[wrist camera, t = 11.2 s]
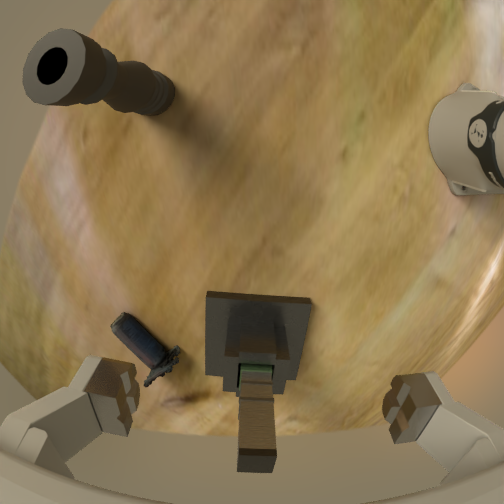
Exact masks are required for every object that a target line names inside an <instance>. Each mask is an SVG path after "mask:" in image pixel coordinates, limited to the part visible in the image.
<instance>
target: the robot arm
mask: <svg viewBox="0 0 504 504" xmlns="http://www.w3.org/2000/svg"><path fill="white" fill-rule="evenodd" d="M429 144H430V149H431V152H432V155H433V158H434V160H435V162H436V164H437V165H438V167H439V168H440V170H441V171H442V172H443V173H444V175H445V176H446V178H447V181H448V184H449V187H450V190H451V192H452V193H453V194H455V195H479V194H504V97H502V96H498V95H497V93H496V92H493V91H481V90H479V89H478V88H477V87H475V86H474V85H472V84H471V83H463V84H462V85H461V86H460V87H459V88H458V90H457V91H456V92H455V93H453V94H451V95H448V96H446V97H445V98H443V99H442V100H441V101H440V102H439V103H438V104H437V105H436V107H435V108H434V110H433V113H432V115H431V118H430V123H429ZM462 186H463V189H462ZM136 374H137V371H136V367H135V364H133V363H129V362H124V361H119V360H114V359H109V358H105V357H104V358H103V357H98V356H94V355H89V356H87V357H86V359H85V360H84V362H83V363H82V365H81V367H80V368H79V370H78V372H77V373H76V375H75V376H74V378H73V380H72V381H71V383H70V385H69V387H68V388H67V387H62V388H60V389H58V390H57V391H55V392H53V393H51V394H49V395H47V396H45V397H43V398H41V399H39V400H37V401H35V402H33V403H31V404H29V405H27V406H25V407H23V408H21V409H19V410H17V411H15V412H13V413H11V414H9V415H8V416H7V417H6V419H5V420H4V422H3V424H2V425H1V427H0V504H172V503H166V502H161V501H155V500H150V499H145V498H140V497H135V496H131V495H127V494H123V493H119V492H115V491H111V490H107V489H104V488H100V487H97V486H94V485H90V484H87V483H84V482H81V481H78V480H75V479H74V476H73V474H72V473H71V471H70V470H69V468H68V467H67V465H66V464H65V462H66V461H68V460H69V459H70V458H71V457H73V456H74V455H75V454H77V453H78V452H79V451H80V450H82V449H83V448H84V447H86V446H87V445H88V444H89V443H90V442H92V441H93V440H94V439H95V438H97V437H98V436H99V435H101V434H102V432H106V433H111V434H115V435H120V436H126V437H127V436H128V434H129V431H130V428H131V425H132V422H133V420H132V416H131V414H132V413H134V412H135V411H137V408H138V405H139V398H140V387H139V383H138V382H137V381H136V380H135V376H136ZM391 387H392V389H391V390H390V391H389V392H387V393H386V395H385V397H384V399H383V405H382V411H383V415H384V418H385V420H386V421H388V422H389V423H390V424H391V425H390V428H389V431H390V434H391V436H392V439H393V442H394V444H399V443H406V442H412V441H416V443H417V444H418V445H420V447H422V448H423V449H424V450H425V451H426V452H427V453H428V454H429V455H431V456H432V457H433V458H434V459H435V460H436V461H437V462H438V463H439V464H440V465H442V466H443V467H444V468H445V469H446V470H447V471H448V472H449V473H448V475H447V476H446V477H445V478H444V479H443V480H442V481H441V483H440V485H439V486H436V487H433V488H429V489H426V490H422V491H418V492H415V493H411V494H406V495H403V496H398V497H393V498H389V499H384V500H379V501H373V502H367V503H362V504H504V429H503V428H501V427H500V426H498V425H496V424H495V423H493V422H491V421H490V420H488V419H486V418H485V417H483V416H481V415H480V414H478V413H476V412H475V411H473V410H471V409H470V408H468V407H466V406H465V405H463V404H461V403H460V402H455V401H454V400H453V398H452V396H451V395H450V393H449V392H448V390H447V388H446V387H445V385H444V384H443V382H442V380H441V379H440V377H439V376H438V374H437V373H436V372H434V371H431V372H423V373H415V374H404V375H396V376H395V377H394V378H393V380H392V382H391Z"/></svg>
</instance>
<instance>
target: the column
mask: <svg viewBox="0 0 504 504" xmlns="http://www.w3.org/2000/svg"><path fill="white" fill-rule="evenodd" d="M271 376H272V365H267V364H249V363H242V364H241V370H240V382H239V391H240V394H239V414H238V420H239V431H238V458H237V472H253V473H272V471H273V468H274V465H275V461H276V458H277V450H276V435H275V420H274V405H273V404H274V398H273V391H272V387H273V382H272V377H271Z"/></svg>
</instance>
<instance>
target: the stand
mask: <svg viewBox="0 0 504 504" xmlns="http://www.w3.org/2000/svg"><path fill="white" fill-rule="evenodd" d="M311 305H312V304H311V300H310V298H303V297H285V296H270V295H255V294H241V293H228V292H215V291H207V295H206V326H205V375H212V376H223V391H228V392H236V397H239V394H240V391H239V382H240V370H241V364H242V363H249V364H267V365H272V376H271V377H272V382H273V387H272V391H273V394H283V393H284V388H285V383H286V380H296V376H297V372H298V368H299V363H300V359H301V354H302V350H303V345H304V340H305V335H306V331H307V326H308V321H309V316H310V311H311Z"/></svg>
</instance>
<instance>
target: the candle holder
mask: <svg viewBox="0 0 504 504" xmlns="http://www.w3.org/2000/svg"><path fill="white" fill-rule="evenodd" d="M23 85H24V89H25V91H26V95H27V96H28V97H29V98H30V99H31V100H32V101H33V102H35V103H39V104H42V105H56V106H69V105H74V104H79V103H81V104H85V105H87V104H92V103H97V102H99V101H100V100H103V101H105V102H106V103H107V104H108V105H110V106H111V107H112V108H113V109H114V110H117V111H120V112H123V113H128V112H135V113H138V114H141V115H148V116H151V115H158V114H160V113H162V112H164V111H166V110H167V109H168V108H169V106H170V105H171V104H172V102H173V99H174V97H175V88H174V86H173V83H172V81H171V80H170V79H169V78H168V77H166V76H165V75H163V74H162V73H160V72H158V71H154V70H151V69H150V68H149V67H148V66H147V65H145V64H144V63H141V62H137V61H124V62H117V59H116V57H115V55H113V54H112V53H111V52H110V51H109V50H107V49H104V48H101V46H100V45H99V44H98V43H97V42H95V41H94V40H93V39H91V38H89V37H87V36H85V35H83V34H81V33H78V32H76V31H74V30H71V29H58V30H55V31H52V32H49V33H48V34H46V35H45V36H44V37H43V38H41V39H40V40H39V41H38V42H37V43H36V44H35V46H34V47H33V49H32V50H31V51H30V53H29V54H28V57H27V60H26V63H25V66H24V68H23Z"/></svg>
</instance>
